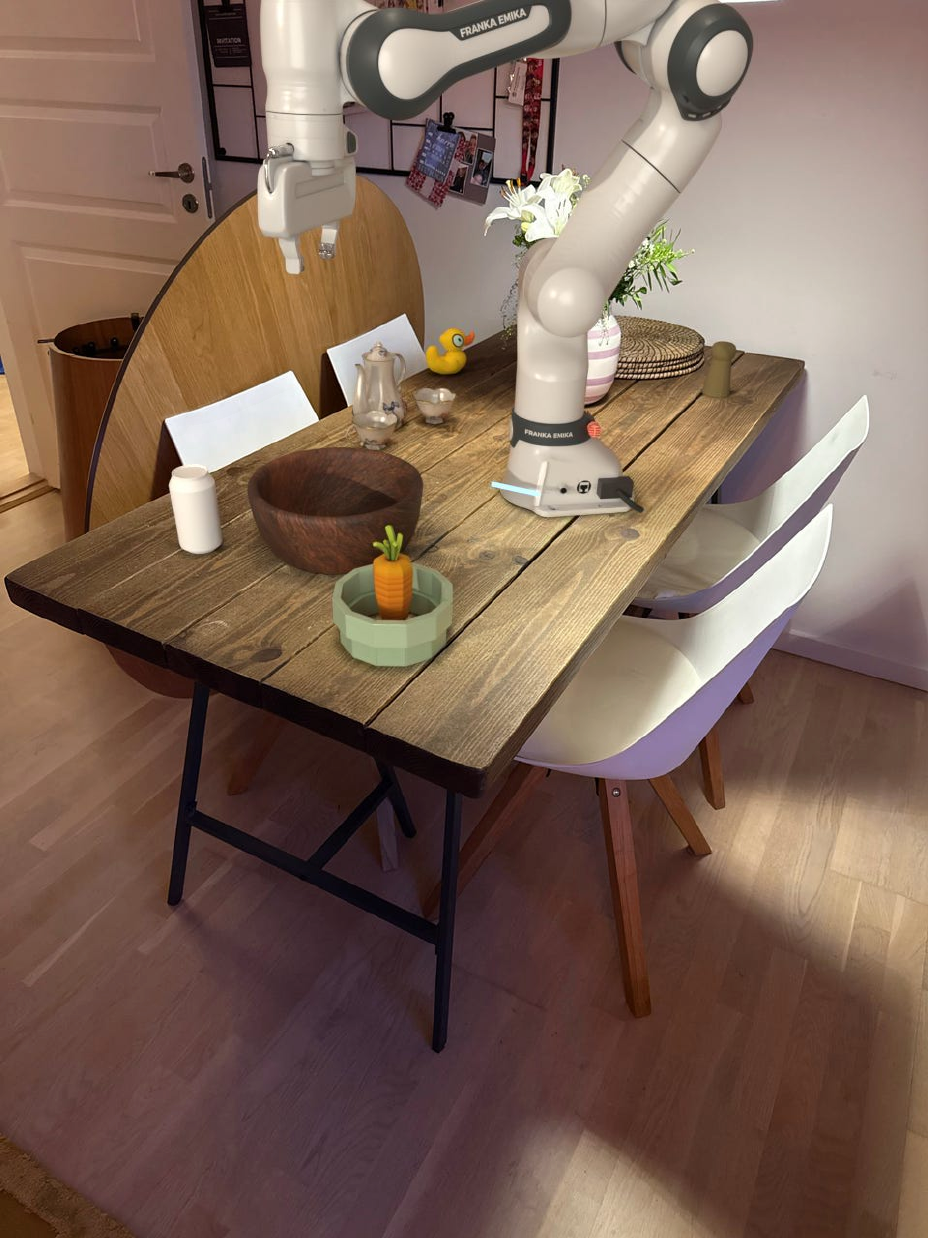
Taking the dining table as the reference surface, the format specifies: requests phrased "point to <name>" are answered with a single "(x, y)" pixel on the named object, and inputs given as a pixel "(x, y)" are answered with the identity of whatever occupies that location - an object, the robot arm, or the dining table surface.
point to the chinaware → (389, 399)
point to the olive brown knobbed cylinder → (719, 370)
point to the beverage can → (195, 509)
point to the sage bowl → (393, 637)
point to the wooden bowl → (334, 506)
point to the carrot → (392, 578)
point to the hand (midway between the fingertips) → (312, 265)
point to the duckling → (449, 352)
